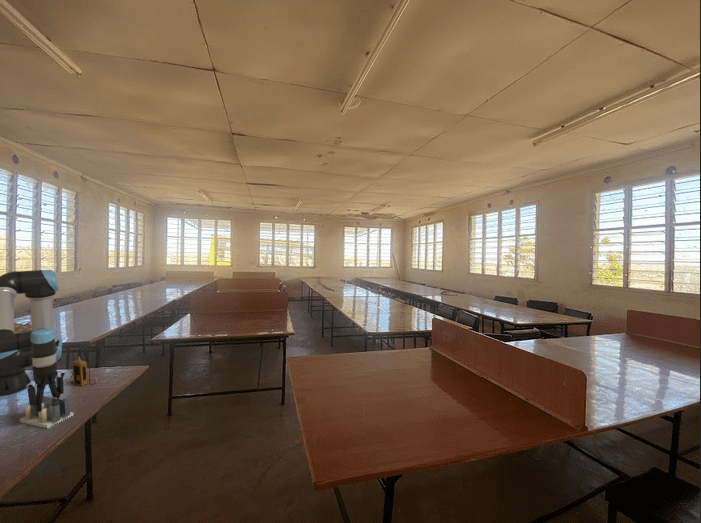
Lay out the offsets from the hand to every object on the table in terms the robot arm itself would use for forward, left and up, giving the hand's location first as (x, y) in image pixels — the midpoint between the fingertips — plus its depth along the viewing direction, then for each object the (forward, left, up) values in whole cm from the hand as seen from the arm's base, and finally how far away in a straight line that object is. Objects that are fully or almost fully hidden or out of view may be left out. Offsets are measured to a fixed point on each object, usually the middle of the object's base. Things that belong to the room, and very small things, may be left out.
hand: (48, 414), depth 139 cm
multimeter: (-21, +31, -3) cm, 38 cm away
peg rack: (-1, 0, -2) cm, 2 cm away
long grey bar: (+1, 0, 0) cm, 1 cm away
